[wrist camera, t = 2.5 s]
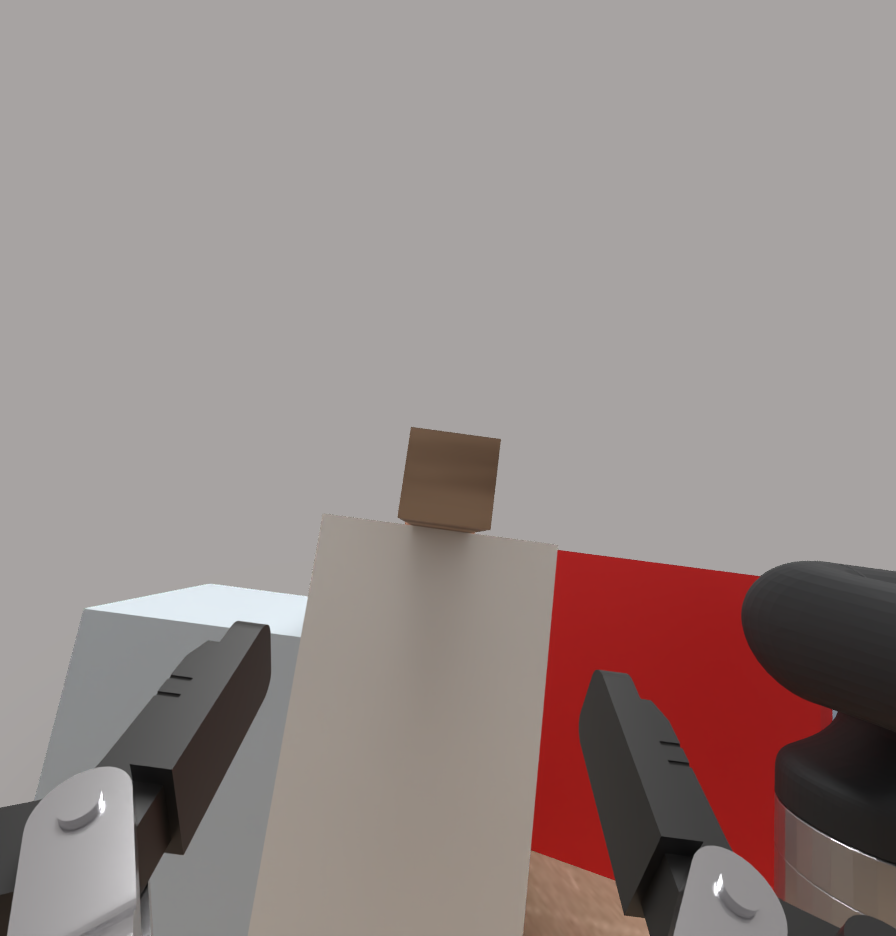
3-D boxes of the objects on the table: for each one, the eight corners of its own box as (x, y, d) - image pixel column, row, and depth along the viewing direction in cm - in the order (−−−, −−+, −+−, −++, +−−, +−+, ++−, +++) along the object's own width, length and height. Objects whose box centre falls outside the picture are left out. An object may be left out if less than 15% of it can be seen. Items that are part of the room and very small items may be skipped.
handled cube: (408, 528, 43) (417, 469, 44) (468, 536, 43) (476, 476, 44) (374, 514, 19) (395, 381, 20) (513, 532, 19) (527, 399, 20)
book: (527, 848, 47) (554, 549, 53) (537, 809, 55) (560, 551, 60) (841, 962, 38) (836, 586, 43) (801, 896, 46) (801, 582, 51)
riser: (152, 852, 40) (227, 504, 45) (478, 893, 40) (515, 543, 45) (-33, 1056, 24) (115, 485, 29) (506, 1123, 24) (557, 545, 30)
